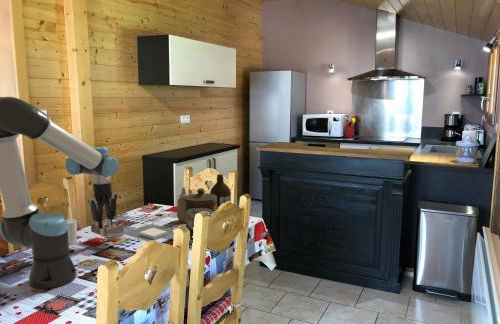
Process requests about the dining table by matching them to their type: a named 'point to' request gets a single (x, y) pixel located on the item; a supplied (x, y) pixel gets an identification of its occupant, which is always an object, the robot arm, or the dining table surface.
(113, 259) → the dining table surface
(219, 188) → the olive oil
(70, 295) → the dining table surface
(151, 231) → the tile
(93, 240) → the dining table surface
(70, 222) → the white cup
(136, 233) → the slate mat
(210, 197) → the wooden container
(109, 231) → the brown rectangular box
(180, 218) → the squeeze bottle
